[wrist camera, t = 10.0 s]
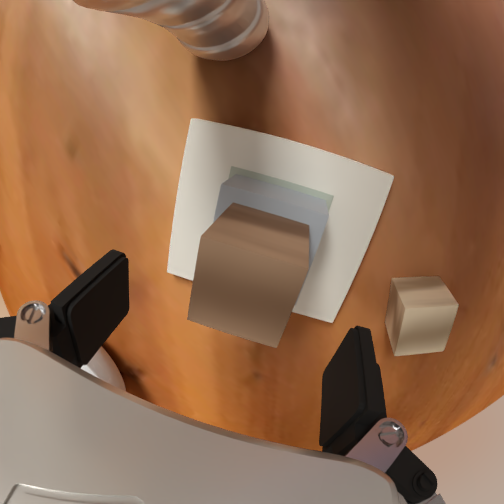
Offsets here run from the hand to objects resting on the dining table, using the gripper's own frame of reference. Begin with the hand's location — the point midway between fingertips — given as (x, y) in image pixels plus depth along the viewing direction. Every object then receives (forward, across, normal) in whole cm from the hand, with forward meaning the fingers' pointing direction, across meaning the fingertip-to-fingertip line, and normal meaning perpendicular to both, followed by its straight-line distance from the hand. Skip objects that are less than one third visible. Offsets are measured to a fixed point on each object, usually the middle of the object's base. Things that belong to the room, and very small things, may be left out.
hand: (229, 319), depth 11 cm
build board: (+14, 0, +1) cm, 14 cm away
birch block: (+14, -15, +4) cm, 21 cm away
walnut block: (+9, 0, +1) cm, 9 cm away
